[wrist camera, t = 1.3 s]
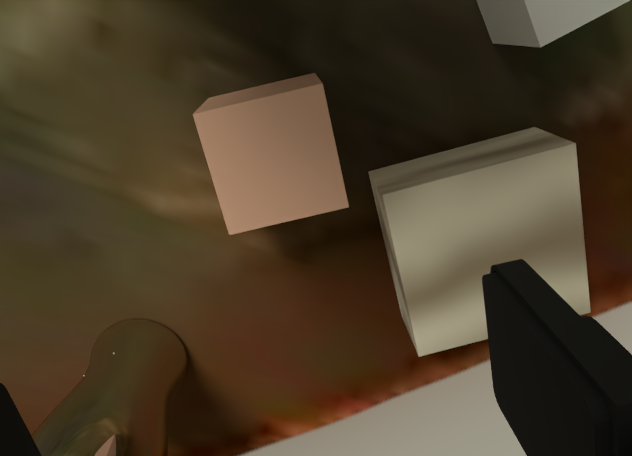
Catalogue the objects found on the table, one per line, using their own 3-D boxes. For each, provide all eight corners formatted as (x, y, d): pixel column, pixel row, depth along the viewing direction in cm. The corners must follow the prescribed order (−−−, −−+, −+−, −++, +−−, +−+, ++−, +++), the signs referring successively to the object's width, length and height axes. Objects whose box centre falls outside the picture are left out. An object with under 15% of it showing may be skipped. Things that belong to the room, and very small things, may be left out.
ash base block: (367, 170, 32) (382, 195, 28) (532, 126, 32) (575, 143, 27) (400, 313, 36) (418, 356, 31) (549, 274, 36) (590, 312, 31)
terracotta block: (208, 97, 30) (192, 114, 25) (314, 72, 30) (322, 83, 24) (237, 198, 32) (229, 235, 27) (337, 175, 32) (348, 207, 27)
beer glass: (214, 344, 36) (171, 553, 21) (162, 419, 37) (90, 657, 23) (116, 293, 34) (0, 482, 20) (66, 373, 36) (-73, 600, 22)
